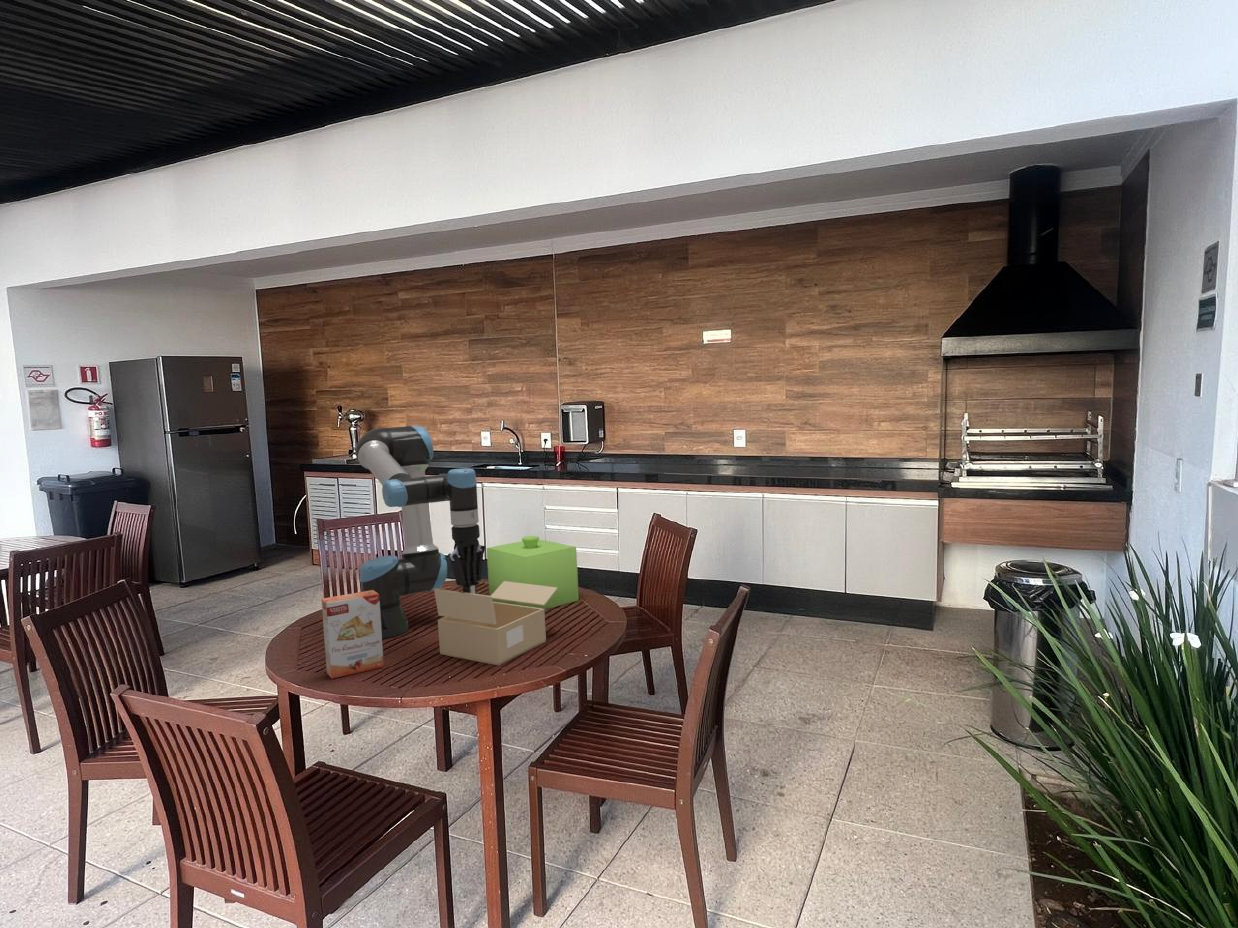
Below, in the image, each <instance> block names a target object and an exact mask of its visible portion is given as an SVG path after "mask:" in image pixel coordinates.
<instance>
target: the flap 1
mask: <svg viewBox="0 0 1238 928" xmlns="http://www.w3.org/2000/svg"><path fill="white" fill-rule="evenodd" d="M433 591H434V598H435V602H436V608H437V609H436V610H437V614H438V616H439V617H451V618H457V619H464V620H470V621H476V622H482V623H488V624H494V625H495V624H496V618H495V612H494V606H493V600H492V596H489V595H485V594H479V593H476V594H472V593H465V592H463V591H458V590H457V591H456V590H448V589H442V588H439V589H434V590H433Z"/></svg>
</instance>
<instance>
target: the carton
mask: <svg viewBox="0 0 1238 928" xmlns="http://www.w3.org/2000/svg"><path fill="white" fill-rule="evenodd" d="M493 606H494V612H495V618H496V624H495V625H494V624H488V623H482V622H476V621H470V620H464V619H457V618H451V617H445V616H443V617H441V618H439V619H437V626H438V627H437V630H438V642H439V654H440V655H443V656H449V657H453V658H459V659H462V660H463V659H464V660H468V661H473V662H479V663H483V664H488V665H494V666H498V667H499V666H501V665H504V664H505V663H508V662H509V661H511V660H513V659H516V658H518V657H519V656H522V655H523V654H526V653H527V652H529V651H531V650H533V649H535V648H537V647H540V646H541V645H543V644H545V643H547V635H546V632H547V631H546V621H545V620H546V616H545V615H546V614H545V610H544V609H542V608H535V607H527V606H520V605H513V604H506V603H499V602H493Z"/></svg>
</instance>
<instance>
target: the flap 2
mask: <svg viewBox="0 0 1238 928" xmlns="http://www.w3.org/2000/svg"><path fill="white" fill-rule="evenodd" d="M557 590H558V588H557V587H549V586H541V585H532V584H524V583H516V582H507V581H504V582H503V583H502V584H501V585H500V586H499V587H498V588H497V589H496V590H495V592H494V593H493V594H492V595H491V596H492V599H496V600H504V601H511V602H518V603H525V604H533V605H540V606H545V605H546V603H547V602H548V601H549V600H550V598H551V597H552V596H553V595H554V593H555V592H556V591H557Z"/></svg>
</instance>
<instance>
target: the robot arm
mask: <svg viewBox="0 0 1238 928" xmlns="http://www.w3.org/2000/svg"><path fill="white" fill-rule="evenodd" d="M354 452H355V453H354V454H355V458H356V460H357V461H358V463H359V464H360V465H361V467H362V468H365V469H366V470H369V471H370V472H371V474H373V476H374V477H375V478H376V480H377V481H378V482H379V483H380V485H382V488H381V494H382V500H383V501H384V502H383V503H384V504H385V506H386V507H389V508H396V507H397V508H401V514H402V515H401V516H402V521H403V522H402V524H403V532H404V540H405V541H404V542H405V548H404V550H402V552H401V556H402V557H401V558H400V559H399V558H398V556H397V555H387V556H386V555H385V556H384V555H383V556H377V557H375V558H371V559H369V560H367V561H366V562H363V564H362V565H361V566H360V569H359V583H360V592H364V591H369V590H374V591H375V592H377V593H378V594H379V599H380V614H381V631H382V640H383V639H389V638H394V637H396V636H399V635H403V634H404V633H406V632H408V630H409V620H408V619H407V616H406V614H405V611H404V609H403V605H402V600H401V598H402V597H403V596H404V597H405V596H408V595H409V596H410V595H415V594H420V593H425V592H428V593H429V592H432V591H434V589H442V588H443V586H444V585H445V583H446V580H447V575H448V564H447V563H448V562H447V560H446V556H445V554H444V553H442V552H439V547H438V546H437V545H435V544H434V541H433V532H432V524H431V515H430V514H431V513H430V506H429V504H432V503H433V504H434V503H442V502H449V510H450V512H449V513H450V515H449V516H450V524H451V525H452V526H451V528H450V529H451V539H452V540H453V541H454V546H453V551H452V552H451V553H448V554H447V559H448V560H449V561H450V563H451V568H452V572H453V575H454V579H455V582H456V586H460V587H462V592H465V593H472V594H477V586H479V585H480V582H481V580H482V575H483V574H482V573H483V564H484V553H485V551H486V545H481V544H480V541H479V538H480V535H481V532H480V525H479V524H478V523H479V521H480V520H479V506H478V487H477V483H478V480H477V476H476V470H474V469H473V468H470V467H469V468H464V467H462V468H454V469H449V471H448V472H447V473H440V474H438V475H429V476H428V475H427V476H426V470H427V468H429V466H430V465H429V462H430V461H431V460H433V458H434V452H435V451H434V444H433V440H432V438H431V435H430V433H429V431H428V430H427V429H426V428H425V427H424V426H421V425H420V426H417V425H416V426H415V425H408V426H395V427H394V426H393V427H379V428H374V429H371V430H369V431H367V432H366V433H364V434H363V435H362V436H361V437H360V438H359V440H358V441H357V443H356V446H355V451H354Z"/></svg>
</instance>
